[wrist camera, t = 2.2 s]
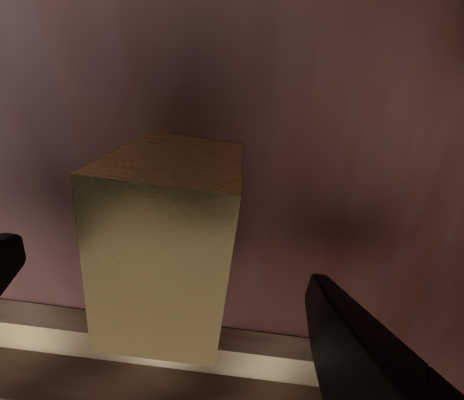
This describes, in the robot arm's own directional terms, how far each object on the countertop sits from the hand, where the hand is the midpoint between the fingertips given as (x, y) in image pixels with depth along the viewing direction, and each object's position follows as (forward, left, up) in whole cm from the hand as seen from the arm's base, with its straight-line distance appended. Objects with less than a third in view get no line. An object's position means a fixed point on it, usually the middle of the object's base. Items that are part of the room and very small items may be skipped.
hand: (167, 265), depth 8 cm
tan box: (0, +2, -5) cm, 5 cm away
